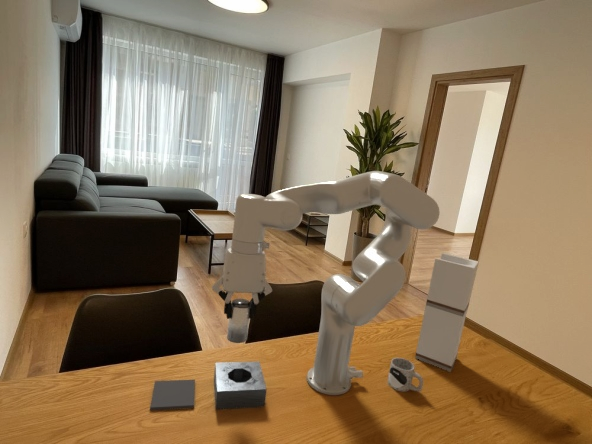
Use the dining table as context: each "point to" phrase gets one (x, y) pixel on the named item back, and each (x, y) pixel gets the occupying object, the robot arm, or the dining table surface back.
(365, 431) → the dining table surface
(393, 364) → the mug
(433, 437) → the dining table surface
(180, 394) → the rubber pad
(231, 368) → the housing
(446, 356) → the white mini fridge
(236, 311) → the silver metal cylinder
